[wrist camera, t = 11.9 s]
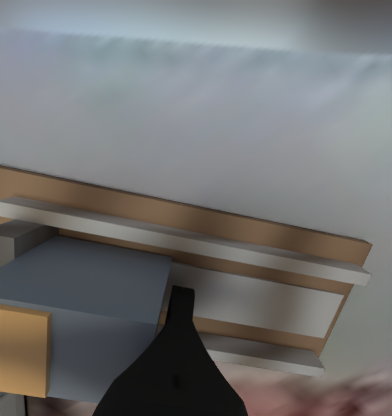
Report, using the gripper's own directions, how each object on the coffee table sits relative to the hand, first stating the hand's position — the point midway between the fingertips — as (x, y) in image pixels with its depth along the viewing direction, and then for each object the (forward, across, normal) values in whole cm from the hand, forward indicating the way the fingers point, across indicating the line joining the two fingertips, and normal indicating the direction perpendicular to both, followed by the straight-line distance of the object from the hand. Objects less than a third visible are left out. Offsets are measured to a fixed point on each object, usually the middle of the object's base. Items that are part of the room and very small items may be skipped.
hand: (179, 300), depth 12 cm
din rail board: (+2, 0, 0) cm, 2 cm away
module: (+1, +4, 0) cm, 5 cm away
